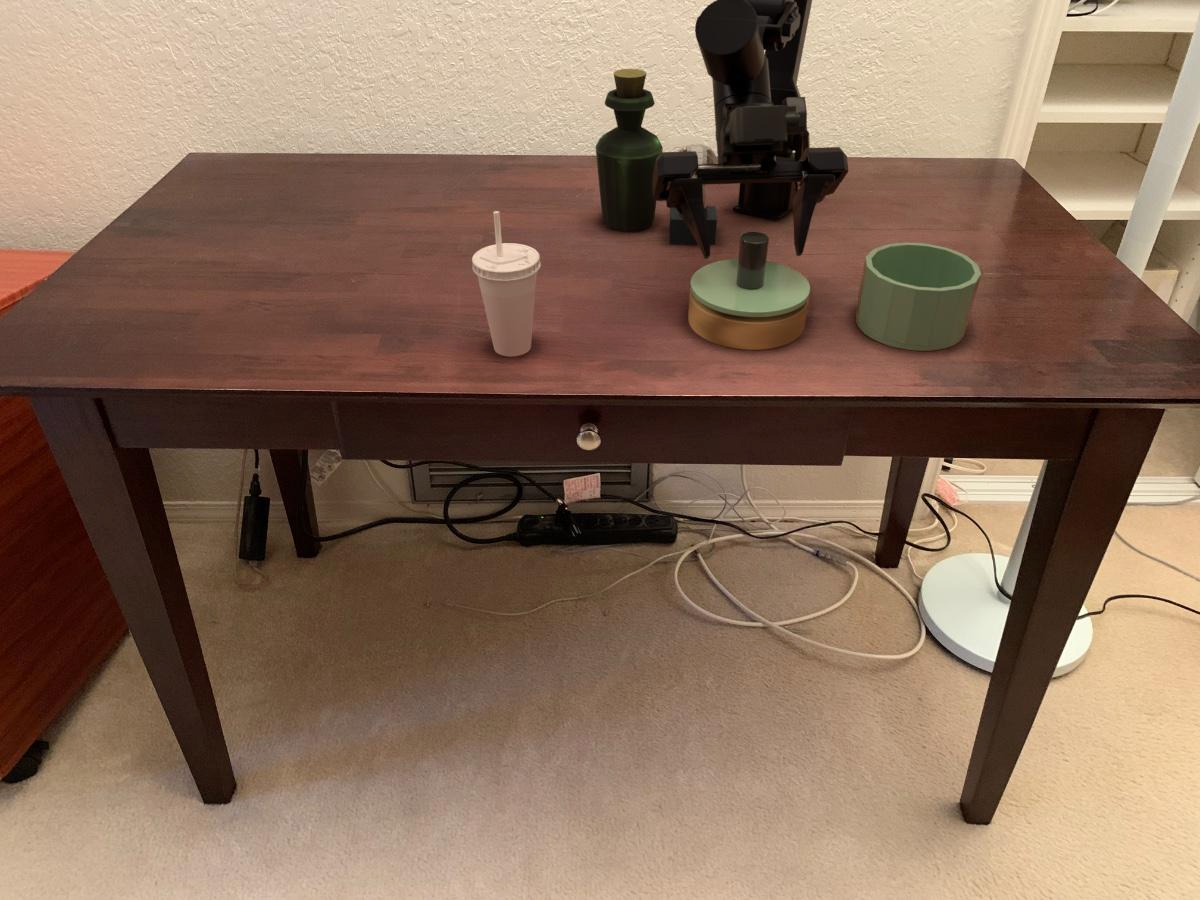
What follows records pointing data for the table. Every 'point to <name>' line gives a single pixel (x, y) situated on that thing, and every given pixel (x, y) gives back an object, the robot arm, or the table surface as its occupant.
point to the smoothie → (508, 291)
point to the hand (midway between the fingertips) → (753, 256)
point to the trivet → (745, 327)
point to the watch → (678, 226)
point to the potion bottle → (628, 156)
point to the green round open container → (916, 296)
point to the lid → (750, 282)
